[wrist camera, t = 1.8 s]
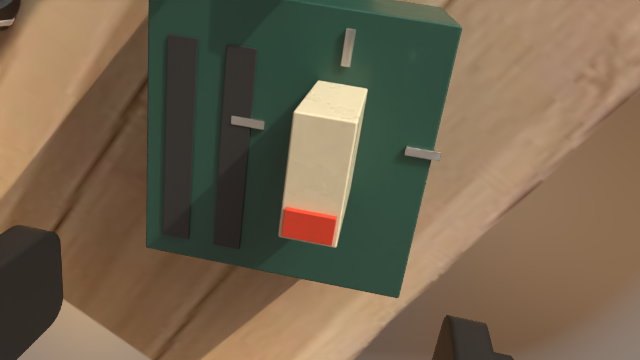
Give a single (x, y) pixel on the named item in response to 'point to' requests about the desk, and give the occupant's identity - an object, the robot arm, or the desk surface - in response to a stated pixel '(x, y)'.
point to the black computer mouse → (8, 12)
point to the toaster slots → (182, 139)
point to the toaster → (276, 120)
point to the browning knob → (321, 162)
